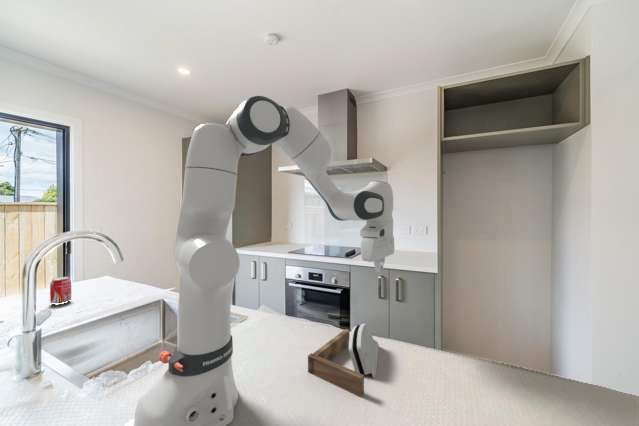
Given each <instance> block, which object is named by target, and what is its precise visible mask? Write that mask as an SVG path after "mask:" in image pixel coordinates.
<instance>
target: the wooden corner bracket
mask: <svg viewBox="0 0 639 426" xmlns="http://www.w3.org/2000/svg"><path fill="white" fill-rule="evenodd" d="M350 334H351V331H350V329H347V328H345V329H343V330H342V331H340V333H338V334H337V335H336V336H334V337H332V339H330V340H329V341H328V342H326V343H325V344H324V345H322V346H321V347H320V348H318V349H317V350H315V351H314V352H313V353H310V354H308V355H307V373H309V374H311V375H314V376H315V377H317V378H319V379H322V380H324V381H325V382H328V383H330V384H332V385H334V386H336V387H338V388H340V389H343V390H345V391H347V392H349V393H351V394H353V395H356V396H358V397H360V398H362V397H363V395H364V394H365V374H364V373H362V374H360V373H358V372H355V370H352V369H351V368H348V367H346V366H343V365H341V364H339V363H336V362H334V361H332V360H333V359H334V358H335V357H336V356H337V355H338V354H339V353H341V352H342V351H343V350H344V349H346V348H347V346H348V347H349V338H350Z"/></svg>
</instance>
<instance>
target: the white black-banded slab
mask: <svg viewBox="0 0 639 426" xmlns="http://www.w3.org/2000/svg"><path fill="white" fill-rule="evenodd" d="M379 351H380V345H379V341H377V340H376V339H374V338H373V334H372V332H371V330H370V328H369V325H368V323H361V324H357V325H355V326H353V328H352V329H351V331H350V338H349V345H348V352H349V355H350V359H351V363H352V367H353V369H354V370H353V371H355V372H358V373H360V374H364V376H365V375H369V374H371V376H372V378H373V379H376V375H377V367H378V359H379Z"/></svg>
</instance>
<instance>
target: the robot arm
mask: <svg viewBox="0 0 639 426" xmlns="http://www.w3.org/2000/svg"><path fill="white" fill-rule="evenodd" d="M271 145H274V146H277V148H279V149H281V150H282V151H284V153H285V154H286V156H288V157H289V158H290V159H291V161H292V162H293V163H294V164H296V166H297V167H298V168H299V170H301V172H302V174H303V175H304V178H306V180H307V182H309V184H310V185H311V186H312V187H313V189H314V190H315V192H316V193H317V194H318V195H319V196H320V198H321V199H322V200H323V201H324V203H325V204H326V207H327V209H328V211H329V214H330V215H331V216H332V217H333V219H335V220H337V221H340V222H342V221H364V222H366V224H365V225H364V226H363V227H362V228H361V229H360V231H359V236H360V237H361V239H360V256H361V259H362V261H363V262H370V263H373V266H374V271H375V272H376V273H380V272H381V271H384V265H385V260H386V257H389V256H391V255H394V254H395V236H394V218H393V211H394V194H393V191H394V190H393V188H392V187H393V186H391V184H390V183H388V182H385V181H380V180H373V181H370V182H368V185H366V186H365V187H362V188H360V189H358V190H354V191H343V190H341V189H340V188H338V186H336V184H335V182H334V181H333V180H332V179H331V178H330V176H329V174H328V173H327V170H326V169H327V167H328V165H329V164H330V162H331V159H332V154H333V153H332V147H331V145H330V143H329V140H328V139H327V138H326V136H324V135H323V133H322V132H321V131H320V130H319V128H318V127H316V125H315V124H314V123H313V122H312V121H311V120H310V119H309V118H308V117H306V116H305V114H303V113H302V112H301V111H299V109H297V108H296V107H294V106H284V107H283V106H282V105H279V104H278V103H277V102H276V101H274V100H273V99H272V98H269V97H266V96H263V95H253V96H251V97H248V98H247V99H245V100H244V101H242V102H241V103H240V104H239V106H238V108H236V109H235V110H234V111H233V112H232V113H231V115H230V117H229V118H228V120H227V121H226V123H225V124H220V123H219V124H218V123H215V122H206V123H202V124H199V125H198V126H196V128H195V129H194V130H193V133H192V135H191V138H190V141H189V145H188V149H187V154H186V159H185V167H184V175H183V187H182V188H183V189H182V200H181V207H180V213H179V219H178V223H177V230H176V237H175V242H174V243H175V244H174V253H173V259H174V263H175V264H176V266H177V268H178V271H179V290H178V291H179V293H178V304H177V311H176V313H177V314H176V319H177V320H176V322H177V323H176V324H177V326H176V327H177V330H176V334H177V339H176V342H177V344H176V347H175V348H174V351H173V353H170V352H169V351H168V350H163V351H161V352H160V353H159V355H158V361H160V362H161V363H162V364H163V365H164V364H165V365H166V364H168V367H167V368H166V369H165V370H164V371H163V372H162V374H161V375H160V376H159V377H158V378H157V379H156V380H155V381H154V382H153V383H152V384H151V385H150V387H148V389H146V391H145V392H144V393H143V394H142V395H141V396H140V397H139V400H138V401H137V403H136V404H137V405H136V407H135V412H134V417H133V418H131V419H130V420H129V421H127V422H126V423H125V424H123V426H227V425H229V424H231V423H232V422H233V421H234V415H235V414H234V412H235V411H234V410H235V407H236V405H237V403H238V400H239V390H238V389H237V385H236V382H235V377H234V372H233V371H234V370H233V361H232V356H233V352H234V349H233V348H234V343H233V335H232V334H231V331H232V330H231V326H232V325H231V323H232V322H231V321H232V320H231V316H232V315H231V314H232V313H231V312H232V311H231V307H232V306H231V305H232V298H233V294H234V293H233V292H234V288H235V283H236V282H235V280H236V277H237V275H238V272H239V270H240V264H241V261H240V256H239V253H238V251H237V249H236V248H235V246H234V245H233V243H232V242H230V241H229V240H228V239H227V237H226V236H227V232H228V227H229V225H230V221H231V218H232V214H233V213H234V211H235V207H236V206H235V204H236V192H237V181H238V180H237V179H238V165H239V161H240V157H246V156H251V155H252V156H253V155H254V154H257V153H259V152H261V151H264V150H265V149H267V148H268V147H269V146H271Z"/></svg>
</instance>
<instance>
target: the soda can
mask: <svg viewBox="0 0 639 426" xmlns="http://www.w3.org/2000/svg"><path fill="white" fill-rule="evenodd" d="M49 299H50V300H49V301H50V302H49V303H50V304H51V303H62V302H66V301H69V300H72V280H71V278H70V277H69V276H61V277H54V278H51V281H50V284H49ZM69 302H70V301H69Z"/></svg>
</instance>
